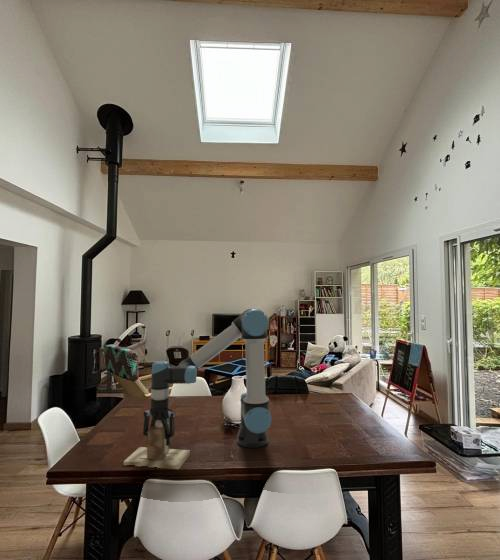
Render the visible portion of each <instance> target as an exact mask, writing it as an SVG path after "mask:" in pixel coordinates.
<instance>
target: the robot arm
mask: <svg viewBox="0 0 500 560" xmlns="http://www.w3.org/2000/svg"><path fill="white" fill-rule="evenodd" d="M268 328H269V319H268V316H267V315H266V313H265V312H264V311H263V310H261V309H259V308H248V309H246V310H244V311H243V312H242V313H241V314H239V316H238V317H236V318H235V319H234V320H233V321H232V322H231V325H229V326H228V327H227V328H225V329H224V330H223V331H221V332H220V333H219V334H218V335H216V336H215V337H213V338H212V339H211V340H209V341H208V342H207V343H205V344H204V345H203V346H201V347H200V348H198V350H196V351H194V353H192V354H191V355H190V356H189V357H187V358H186V359H183V360H182V361H180V362H179V364H178V365H170V362H169V361H166V360H158V361H157V360H156V361H154V362H153V363H152V365H151V373H150V374H151V376H150V377H151V378H150V379H151V382H150V383H151V385H150V386H151V388H150V389H151V391H150V410H145V411H144V412H143V416H144V419H143V432H142V435H143V436H146V437H147V439H146V441H147V442H146V444H147V445H148V429H149V428H150V427H153V426H154V425H155V423H156V420H161V423H162V424H163V427H165V436H166V437H165V438H164V454H166V453H167V452H168V446H169V447H170V445H171V442H170V437H171V438H173V437H174V436H175V434H176V433H175V432H176V431H175V429H176V428H175V415H176V412H175V411H172V412H170V411H169V409H170V408H169V403H170V402H169V400H170V398H169V394H170V393H169V392H170V384H171V385H172V384H173V385H174V384H175V385H176V384H177V385H178V384H183V385H187V384H188V385H190V384H195V383H196V382H197V375H198V374H197V373H198V372H197V371H198V370H199V369H200V368H202V367H203V366H204V365H205V364H207V363H208V362H209V361H211V360H212V359H214V358H215V357H216V356H218V355H219V354H220V353H222V352H223V351H225V350H226V349H227V348H228V347H230V346H231V345H232V344H234V343H235V342H236V341H238V340H239V339H241V340H243V341H244V343H245V344H244V345H245V347H244V349H245V350H244V351H245V380H246V382H245V386H246V389H245V390H246V392H244V393H241V395H240V426H239V430H238V432H237V436H236V443H237V444H238V445H239V446H241V447H244V448H250V449H251V448H252V449H255V448H261V447H265V446H266V445H267V444H268V443H269V435H268V433H267V430H268V429H269V428H270V426H271V423H272V414H271V412H270V399H269V397H268V396H267V395H266V369H265V367H266V366H265V363H266V362H265V341H266V340H267V339H268ZM168 414H169V417H170V419H169V424H170V430H169V426H168V423H167V417H166V416H167V415H168ZM150 416H151V417H152V418H151V422H150Z"/></svg>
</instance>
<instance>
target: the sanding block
mask: <svg viewBox="0 0 500 560" xmlns="http://www.w3.org/2000/svg"><path fill="white" fill-rule="evenodd" d="M168 426H169V430H170V424H169V423H168ZM165 437H166V436H165V427H163V424H162V423H161V422H156V423H155V425H154V426H153V427H150V426H149V428H148V444H147V459H153V460H161V459H162V458H163V457H164V456H165V455H166V454H164V438H165ZM169 449H170V445H169V446H168V451H169Z"/></svg>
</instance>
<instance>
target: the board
mask: <svg viewBox="0 0 500 560" xmlns="http://www.w3.org/2000/svg"><path fill="white" fill-rule="evenodd" d="M190 455H191V450H190V449H179V448H177V449H176V448H169V451H168V452H167V453H166V455H165V456H164V457H163V458H162V459H161V460H153V459H147V447H146V446H139V447H138V448H137V449H136V450H135V451H134V452H132V453H131V454H130V455H129V456H128V457H127V458H126V459H125V460H124V461H123V466H127V465H135V466H134V467H141V466H148V467H147V468H154V467H157V469H167V470H168V469H169V470H180V469H181V467H182V466H183V464H184V463H185V462H186V460H187V459H188V457H189V456H190Z"/></svg>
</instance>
